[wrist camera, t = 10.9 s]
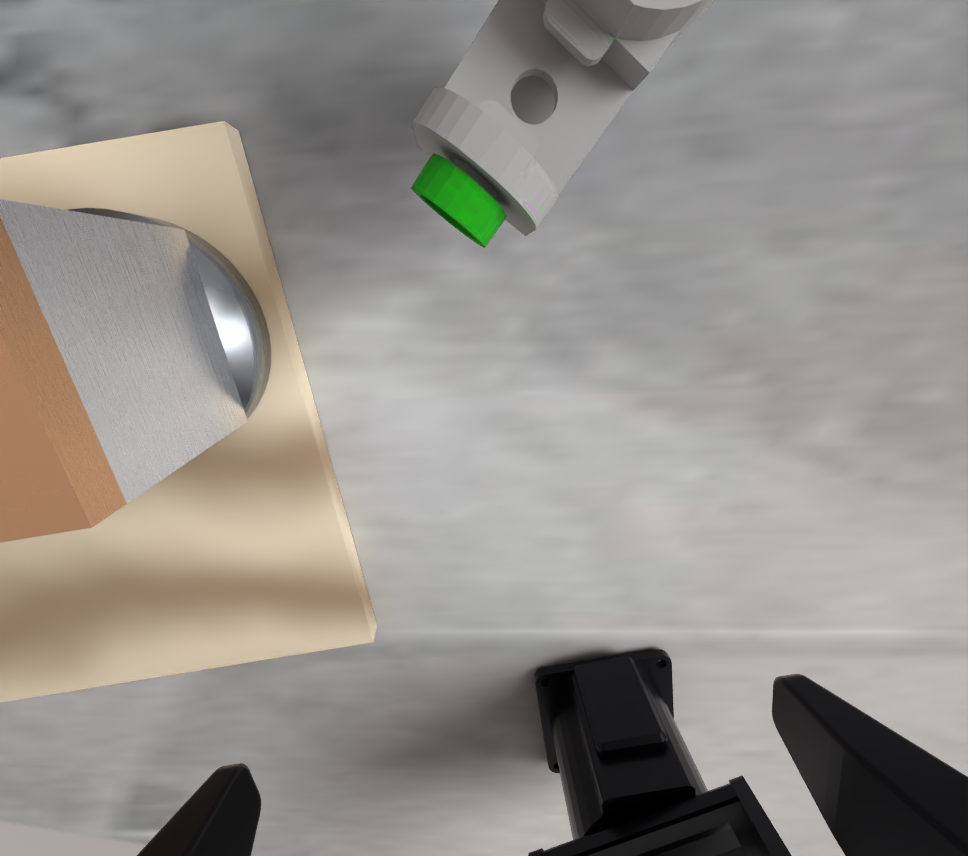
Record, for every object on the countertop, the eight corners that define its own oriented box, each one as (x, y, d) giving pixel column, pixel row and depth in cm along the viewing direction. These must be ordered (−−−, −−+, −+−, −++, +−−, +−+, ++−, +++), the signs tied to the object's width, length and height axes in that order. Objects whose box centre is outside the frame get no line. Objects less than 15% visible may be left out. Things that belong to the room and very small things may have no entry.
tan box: (247, 421, 16) (92, 527, 9) (71, 450, 16) (-213, 577, 9) (184, 229, 14) (-70, 187, 7) (-16, 262, 14) (-453, 250, 7)
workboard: (377, 626, 22) (373, 642, 21) (12, 685, 22) (-9, 704, 21) (238, 130, 15) (223, 121, 14) (-274, 215, 15) (-323, 212, 14)
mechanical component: (420, 220, 16) (364, 144, 7) (613, -77, 14) (927, -797, 5) (488, 273, 17) (523, 272, 8) (683, -2, 15) (1083, -498, 5)
